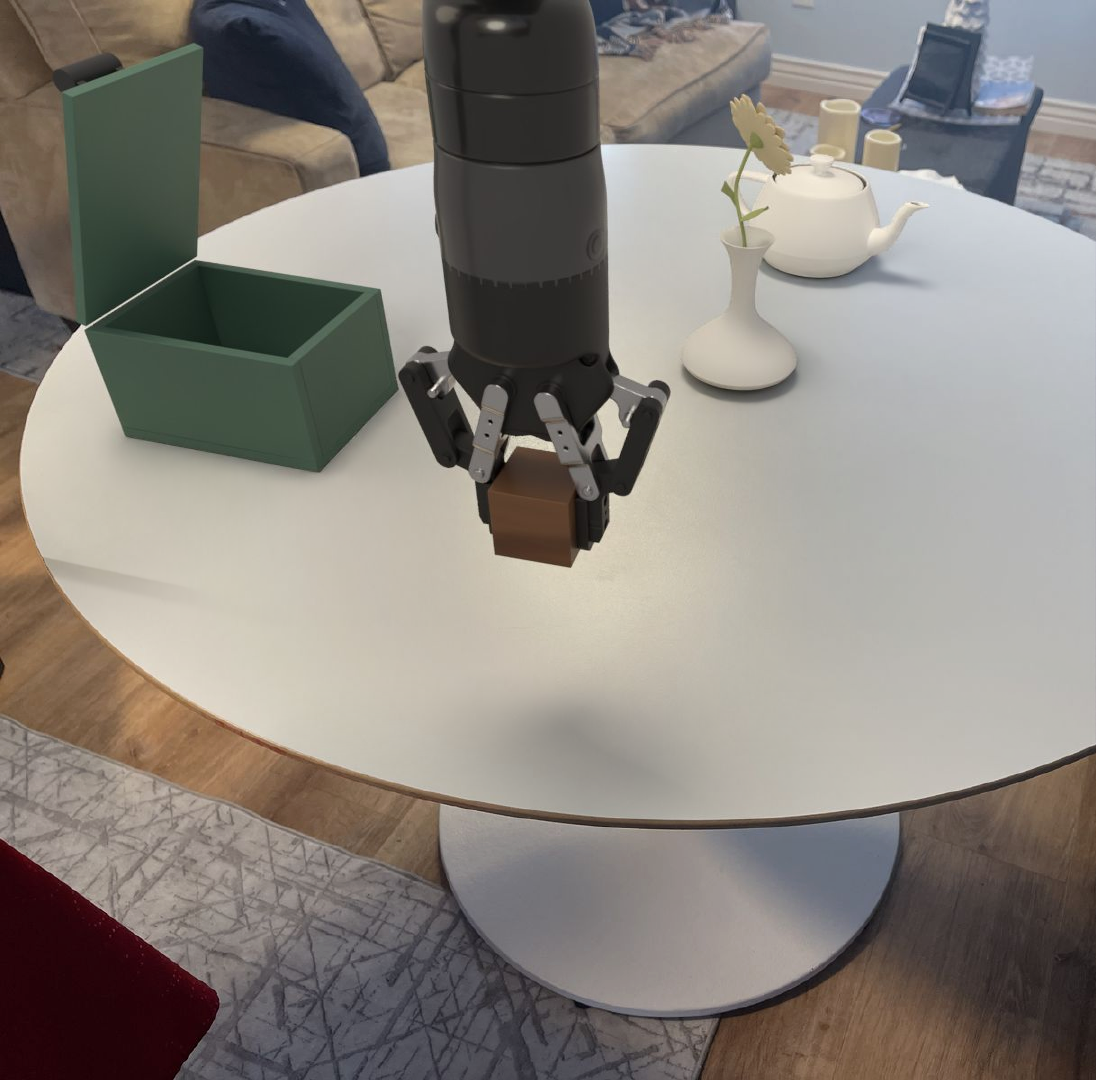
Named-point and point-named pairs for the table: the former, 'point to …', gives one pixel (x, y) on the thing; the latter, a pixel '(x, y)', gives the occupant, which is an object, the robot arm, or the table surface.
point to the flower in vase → (745, 281)
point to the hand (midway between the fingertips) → (544, 532)
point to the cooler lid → (131, 172)
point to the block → (534, 509)
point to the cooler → (247, 363)
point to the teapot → (821, 218)
